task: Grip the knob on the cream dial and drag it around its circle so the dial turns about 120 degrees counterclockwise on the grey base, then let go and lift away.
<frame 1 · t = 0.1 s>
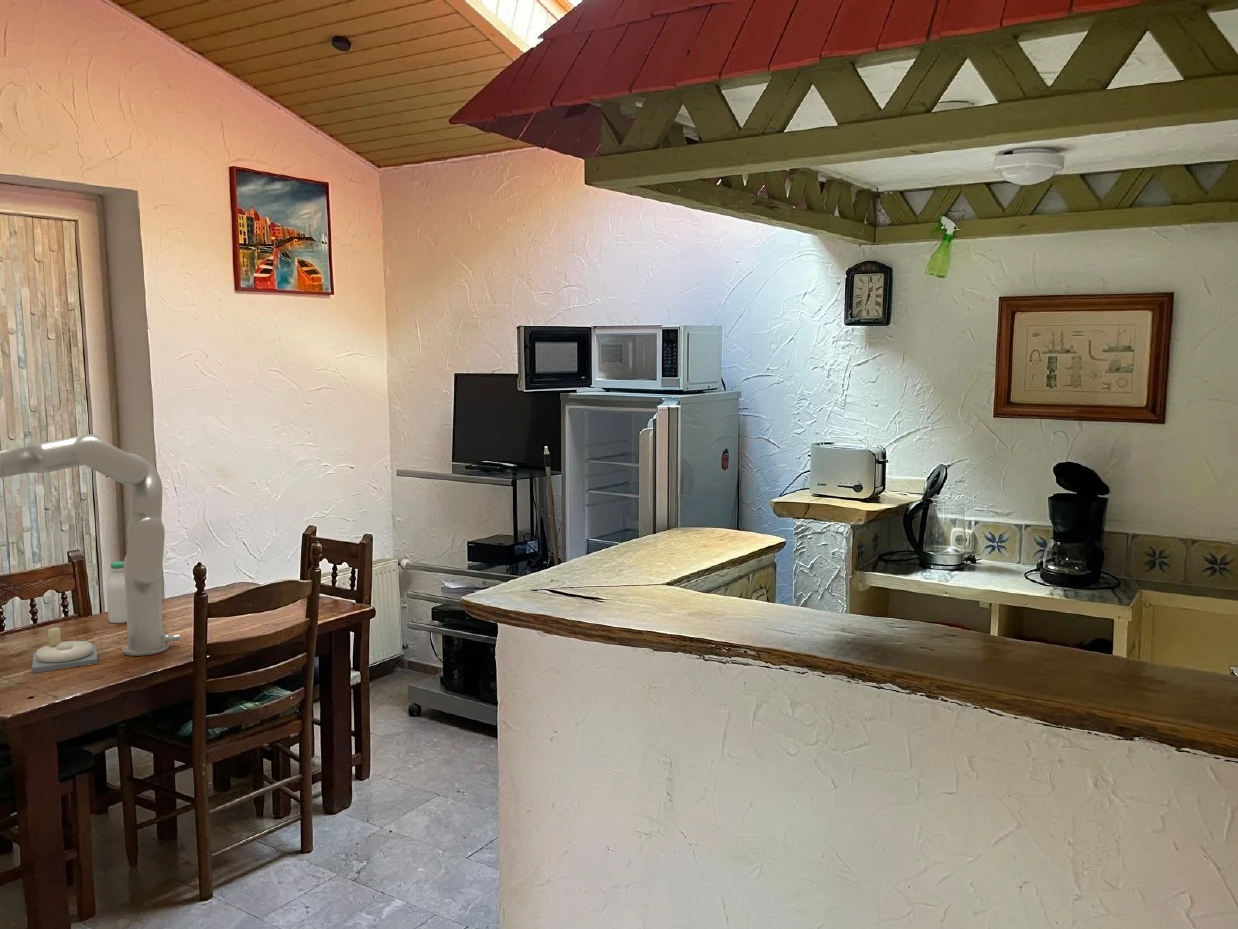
dial: (64, 643, 267), point 5 cm above the table, hinge at 0.0°
milk bottle: (121, 621, 310), on the table
base board: (65, 660, 268), on the table
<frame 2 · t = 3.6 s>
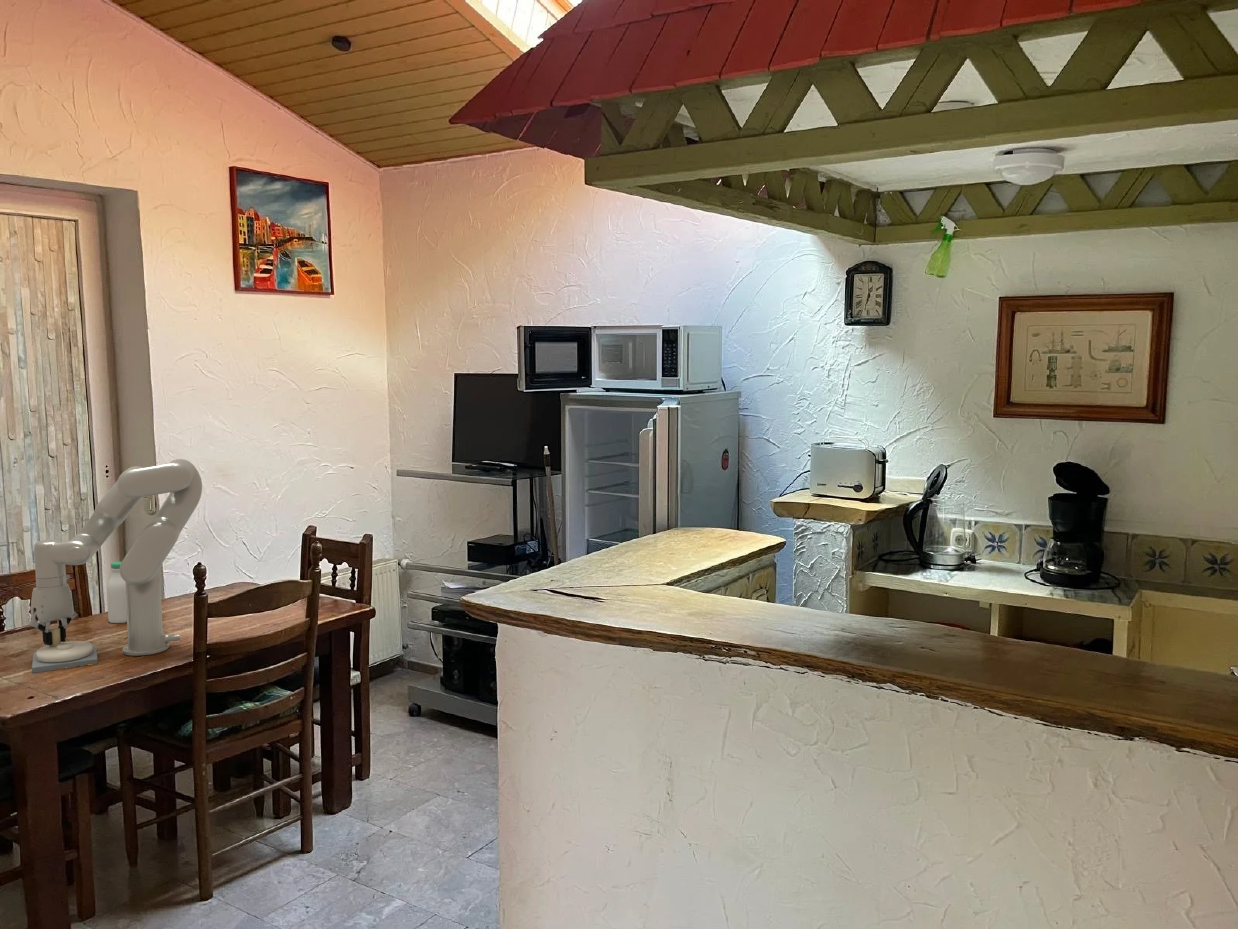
hand: (54, 642, 270), 5 cm above the table, tool pointing down, fingers closed on dial, 3 cm apart
dial: (64, 643, 267), point 5 cm above the table, hinge at 0.0°, touching gripper
everything else where it was.
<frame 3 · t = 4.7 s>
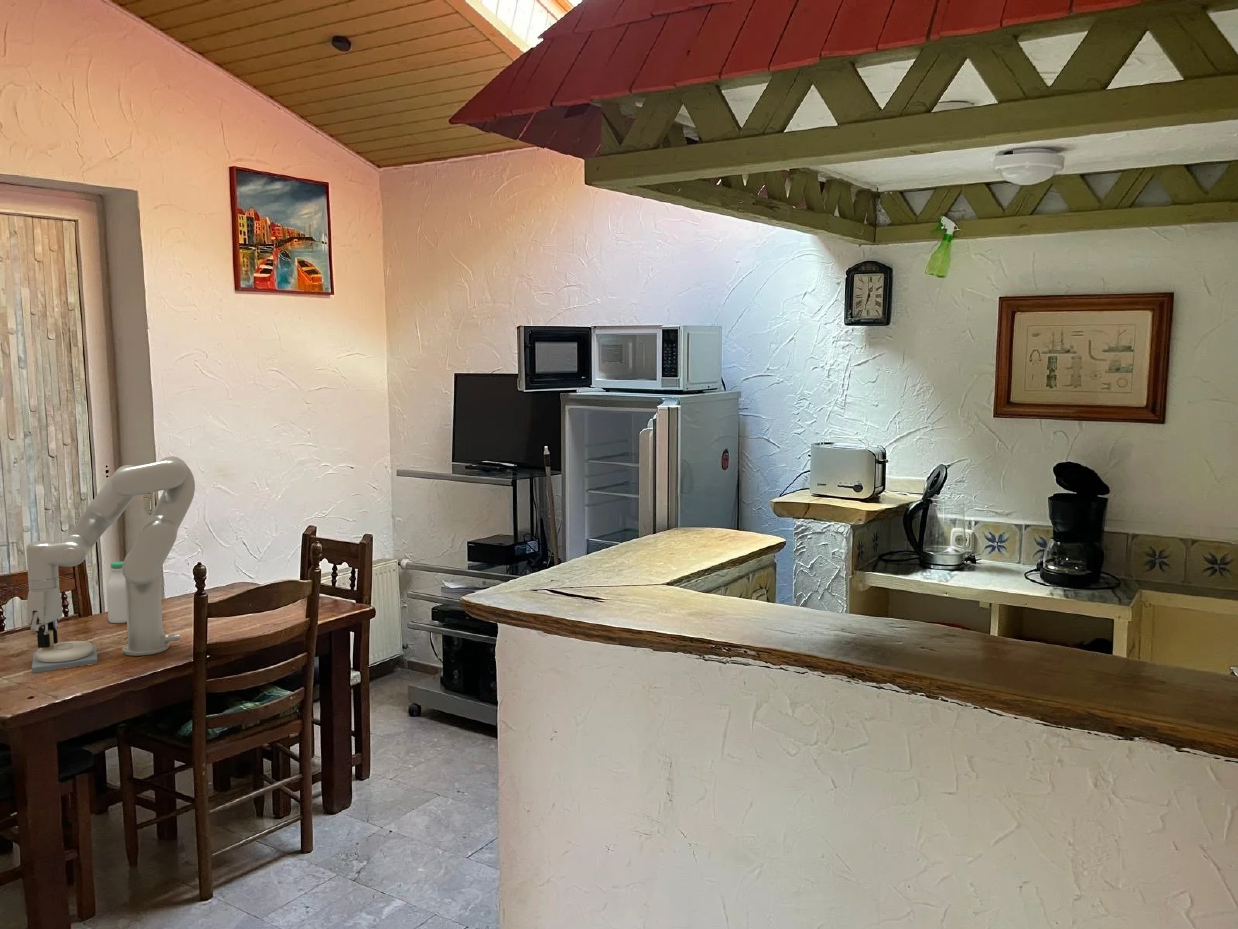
hand: (47, 644, 268), 5 cm above the table, tool pointing down, fingers closed on dial, 3 cm apart
dial: (64, 643, 267), point 5 cm above the table, hinge at 27.9°, touching gripper
everything else where it was.
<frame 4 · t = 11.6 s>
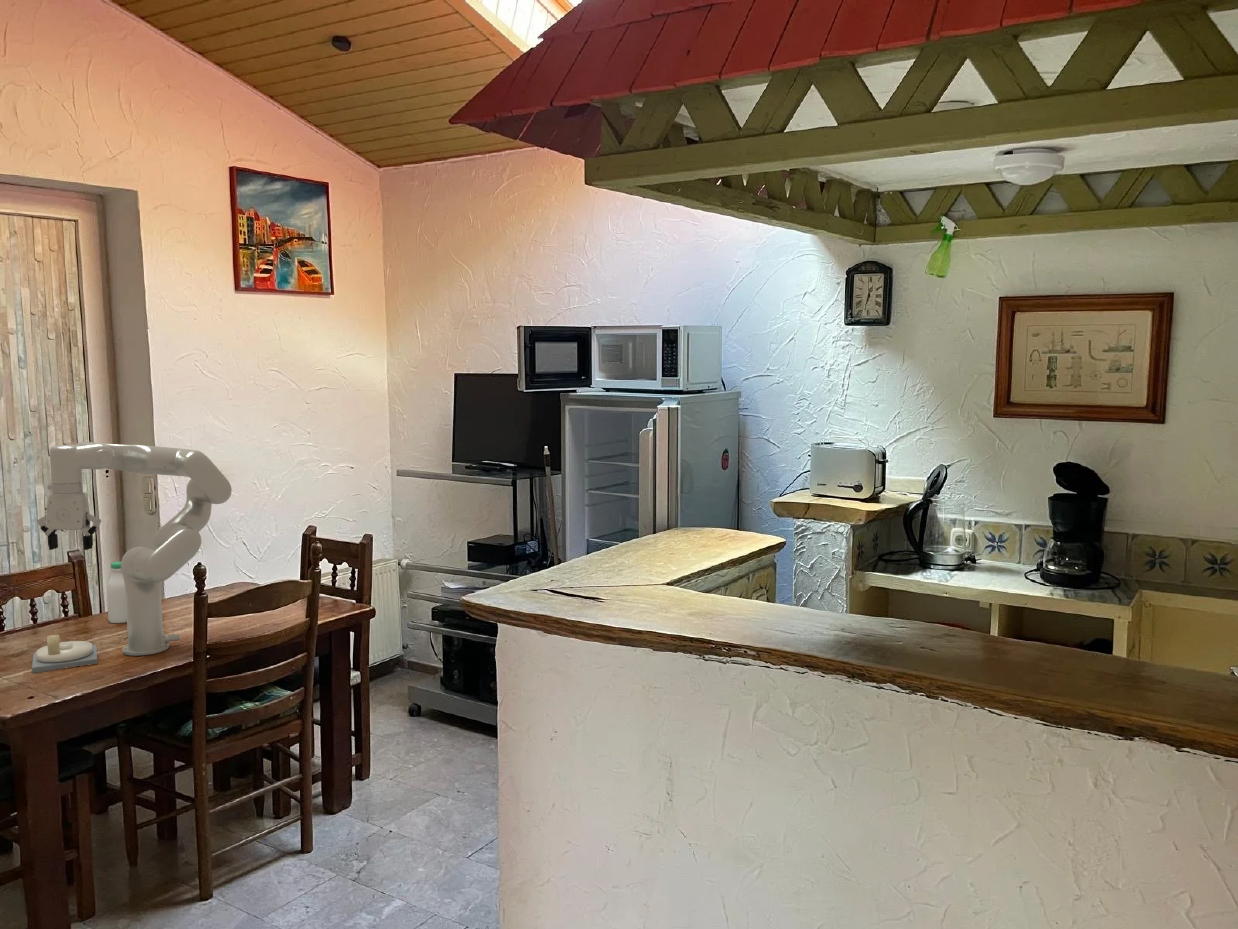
hand: (70, 549, 259), 34 cm above the table, tool pointing down, fingers open, 9 cm apart
dial: (64, 643, 267), point 5 cm above the table, hinge at 118.7°
everything else where it was.
at the end: dial at +119° (first picture: +0°); the gripper is holding nothing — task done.
